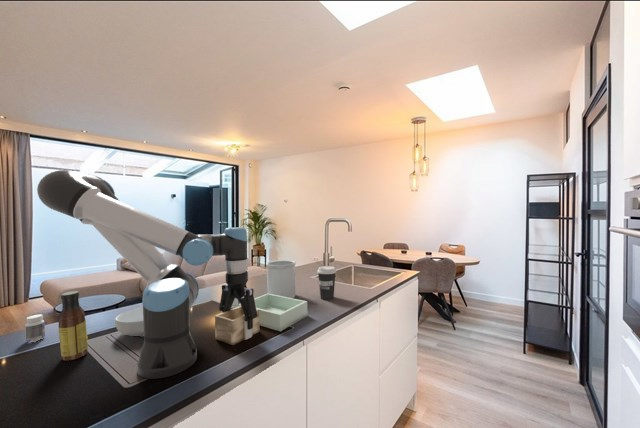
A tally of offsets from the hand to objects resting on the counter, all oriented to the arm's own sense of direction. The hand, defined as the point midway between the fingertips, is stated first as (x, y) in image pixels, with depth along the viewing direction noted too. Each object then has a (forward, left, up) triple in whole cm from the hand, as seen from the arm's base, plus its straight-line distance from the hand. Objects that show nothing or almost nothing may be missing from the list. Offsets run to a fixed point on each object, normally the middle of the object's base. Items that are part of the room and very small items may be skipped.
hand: (238, 334), depth 99 cm
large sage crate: (+18, 0, 0) cm, 19 cm away
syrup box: (+19, +23, 0) cm, 30 cm away
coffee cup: (+51, -6, 0) cm, 51 cm away
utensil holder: (+41, +15, 0) cm, 44 cm away
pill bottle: (-39, +58, 0) cm, 70 cm away
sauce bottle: (-36, +32, 0) cm, 48 cm away
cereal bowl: (-16, +32, -1) cm, 36 cm away
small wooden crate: (0, 0, 0) cm, 0 cm away
